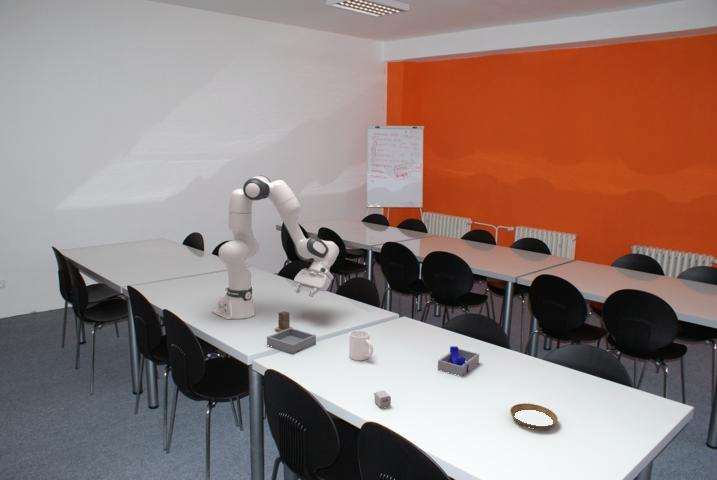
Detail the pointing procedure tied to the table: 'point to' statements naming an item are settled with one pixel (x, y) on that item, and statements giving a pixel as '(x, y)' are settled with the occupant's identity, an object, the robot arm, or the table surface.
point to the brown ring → (533, 407)
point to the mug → (360, 345)
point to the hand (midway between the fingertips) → (303, 294)
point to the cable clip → (456, 357)
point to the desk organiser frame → (456, 369)
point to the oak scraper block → (283, 321)
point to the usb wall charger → (382, 399)
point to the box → (291, 340)
